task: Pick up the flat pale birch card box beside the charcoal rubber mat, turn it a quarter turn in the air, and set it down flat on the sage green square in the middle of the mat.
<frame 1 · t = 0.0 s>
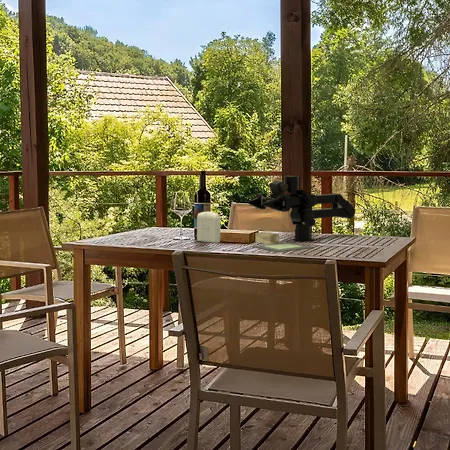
hand: (255, 203, 273), 17 cm above the table, tool horizontal, fingers open, 9 cm apart
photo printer: (208, 242, 286), on the table
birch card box: (267, 243, 282), on the table
rubber mat: (282, 247, 269), on the table
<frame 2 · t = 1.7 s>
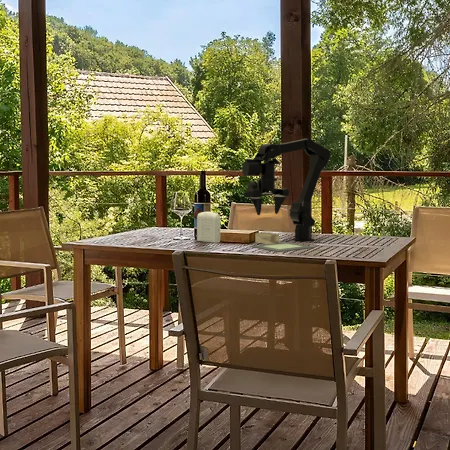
hand: (267, 214, 281), 11 cm above the table, tool pointing down, fingers open, 9 cm apart
nothing on the table moved.
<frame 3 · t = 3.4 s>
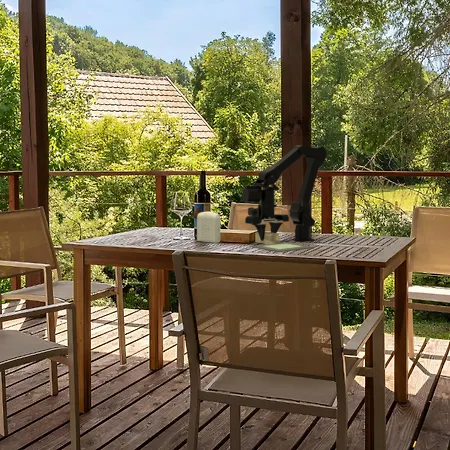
hand: (267, 240, 282), 1 cm above the table, tool pointing down, fingers closed on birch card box, 5 cm apart
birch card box: (267, 242, 282), on the table, touching gripper
everything else where it was.
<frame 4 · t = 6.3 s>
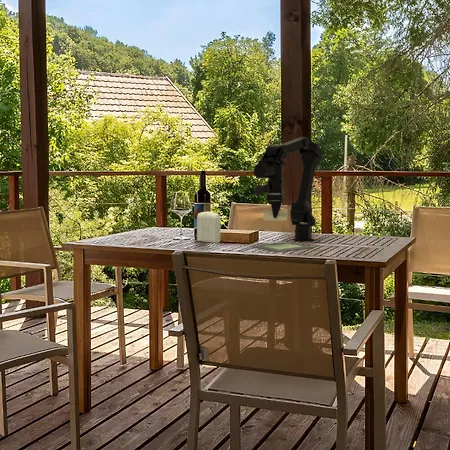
hand: (275, 217, 274), 11 cm above the table, tool pointing down, fingers closed on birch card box, 5 cm apart
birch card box: (275, 220, 274), point 10 cm above the table, touching gripper
everything else where it was.
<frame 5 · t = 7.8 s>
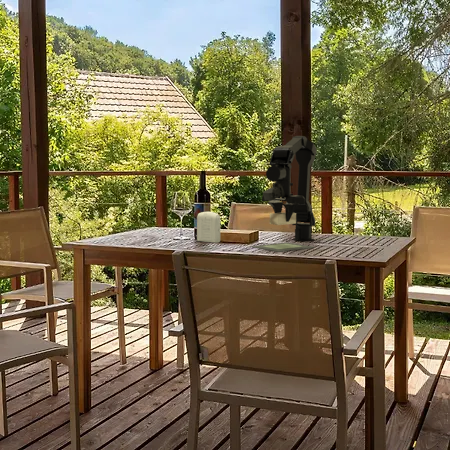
hand: (282, 221, 268), 10 cm above the table, tool pointing down, fingers closed on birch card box, 5 cm apart
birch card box: (282, 223, 268), point 9 cm above the table, touching gripper
everything else where it was.
when the fingers open (3 cm above the table, at t = 9.2 s): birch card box drops 1 cm, resting on rubber mat.
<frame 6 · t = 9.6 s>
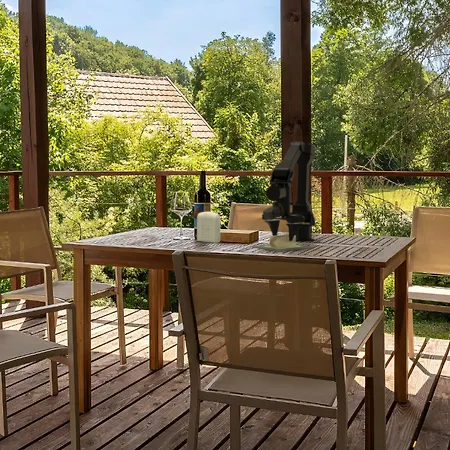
hand: (282, 239, 268), 3 cm above the table, tool pointing down, fingers open, 9 cm apart
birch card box: (282, 246, 269), resting on rubber mat
everything else where it was.
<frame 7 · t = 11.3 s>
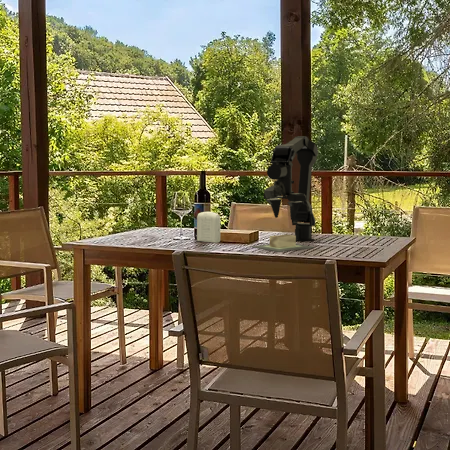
hand: (284, 218, 270), 11 cm above the table, tool pointing down, fingers open, 9 cm apart
nothing on the table moved.
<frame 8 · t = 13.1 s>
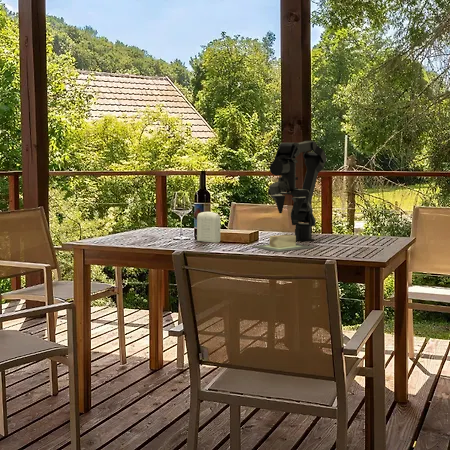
hand: (288, 214, 277), 12 cm above the table, tool pointing down, fingers open, 9 cm apart
nothing on the table moved.
at the end: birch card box inside the target area (0.0 cm from its centre), point 0.5 cm above the table; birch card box tilted 0°; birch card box touching rubber mat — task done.
